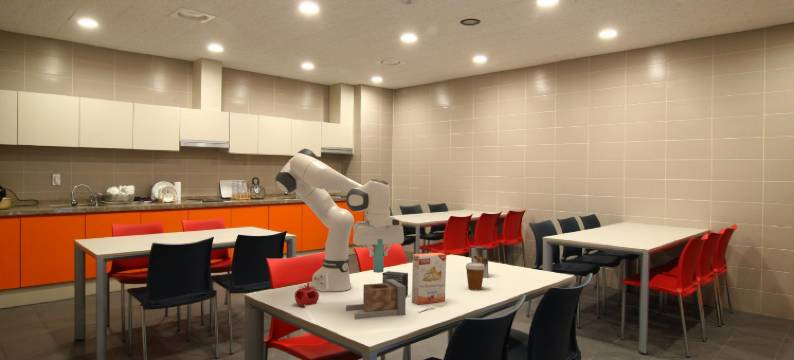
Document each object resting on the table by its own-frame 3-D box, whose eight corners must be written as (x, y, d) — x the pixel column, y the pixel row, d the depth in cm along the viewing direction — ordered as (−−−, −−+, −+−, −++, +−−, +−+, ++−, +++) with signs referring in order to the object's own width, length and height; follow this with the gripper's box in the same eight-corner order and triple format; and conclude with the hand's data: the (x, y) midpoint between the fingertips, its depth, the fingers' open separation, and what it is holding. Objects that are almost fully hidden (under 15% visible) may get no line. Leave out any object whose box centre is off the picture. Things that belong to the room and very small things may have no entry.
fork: (402, 316, 191) (402, 311, 191) (441, 305, 208) (441, 301, 208) (408, 318, 189) (408, 313, 189) (447, 306, 206) (447, 302, 206)
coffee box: (487, 275, 270) (488, 246, 270) (488, 277, 264) (488, 248, 263) (471, 274, 271) (471, 246, 271) (471, 277, 265) (471, 247, 265)
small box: (408, 295, 223) (408, 272, 223) (402, 298, 217) (403, 275, 217) (387, 292, 228) (388, 270, 228) (381, 295, 222) (381, 272, 222)
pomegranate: (297, 302, 210) (297, 280, 210) (320, 302, 210) (320, 280, 210) (292, 307, 200) (292, 285, 200) (316, 308, 200) (316, 285, 200)
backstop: (342, 323, 179) (342, 291, 179) (333, 313, 192) (333, 283, 192) (405, 317, 188) (405, 286, 188) (392, 308, 201) (392, 279, 201)
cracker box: (418, 305, 206) (418, 256, 206) (411, 301, 211) (411, 253, 211) (446, 301, 213) (446, 253, 212) (438, 298, 218) (439, 251, 218)
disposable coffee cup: (462, 289, 235) (463, 265, 235) (467, 285, 244) (468, 262, 244) (482, 291, 231) (482, 266, 231) (486, 287, 240) (486, 263, 240)
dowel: (371, 271, 191) (371, 238, 191) (377, 270, 194) (378, 237, 194) (378, 273, 188) (379, 239, 188) (385, 271, 192) (385, 238, 191)
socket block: (371, 316, 185) (371, 290, 185) (363, 309, 195) (363, 284, 194) (395, 313, 189) (395, 288, 189) (386, 307, 198) (387, 282, 198)
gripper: (355, 222, 185) (355, 258, 185) (405, 221, 192) (405, 256, 192) (351, 220, 190) (350, 256, 191) (399, 219, 198) (399, 253, 198)
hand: (378, 256), depth 191 cm, fingers closed on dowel, 4 cm apart
